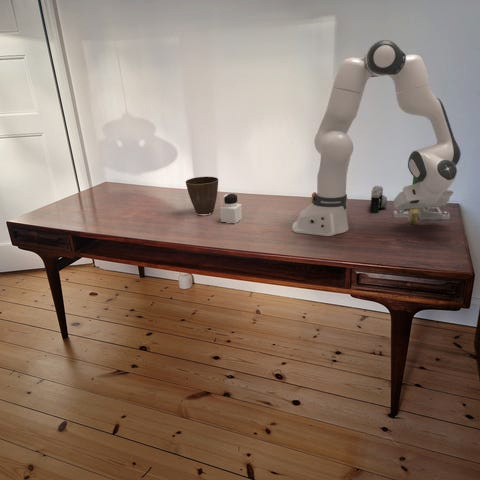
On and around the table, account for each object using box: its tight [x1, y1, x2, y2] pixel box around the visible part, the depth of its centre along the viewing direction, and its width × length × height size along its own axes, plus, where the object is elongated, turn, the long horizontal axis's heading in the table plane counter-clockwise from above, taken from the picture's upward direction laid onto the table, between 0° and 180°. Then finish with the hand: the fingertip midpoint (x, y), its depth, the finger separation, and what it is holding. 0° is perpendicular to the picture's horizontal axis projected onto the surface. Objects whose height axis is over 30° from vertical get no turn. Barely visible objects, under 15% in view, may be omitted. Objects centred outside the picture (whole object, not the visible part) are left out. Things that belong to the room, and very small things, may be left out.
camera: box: [370, 185, 388, 214], centre depth 190 cm, size 15×7×10 cm, turn 161°
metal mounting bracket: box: [393, 206, 451, 222], centre depth 177 cm, size 22×8×3 cm, turn 74°
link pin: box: [407, 208, 419, 225], centre depth 170 cm, size 4×4×9 cm
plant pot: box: [185, 176, 219, 215], centre depth 196 cm, size 15×15×16 cm
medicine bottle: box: [219, 193, 243, 224], centre depth 184 cm, size 7×7×12 cm
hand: (413, 209), depth 170 cm, fingers open, 8 cm apart
